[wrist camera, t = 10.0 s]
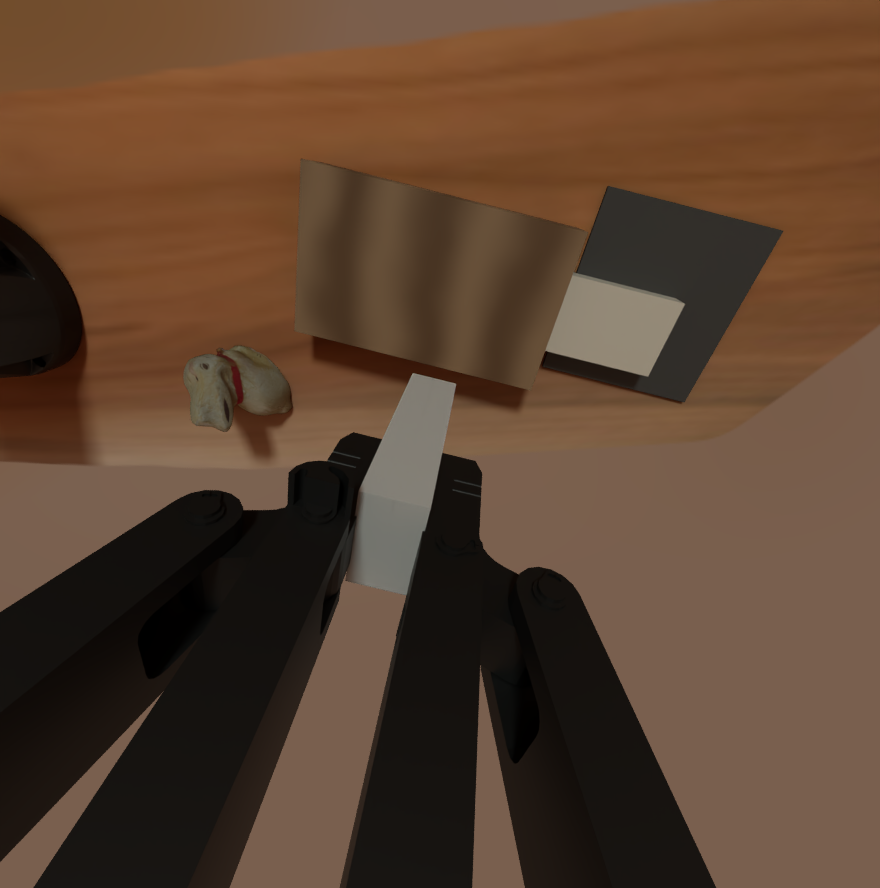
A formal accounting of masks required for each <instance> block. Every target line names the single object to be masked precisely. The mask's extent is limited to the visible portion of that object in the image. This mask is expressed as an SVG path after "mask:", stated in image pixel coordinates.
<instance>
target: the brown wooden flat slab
mask: <svg viewBox="0 0 880 888" xmlns="http://www.w3.org/2000/svg"><path fill="white" fill-rule="evenodd" d="M587 234H588V232H586V231H584V230H582V229H579V228H576V227H572V226H568V225H564V224H560V223H557V222H553V221H549V220H545V219H541V218H537V217H533V216H529V215H525V214H521V213H517V212H514V211H510V210H506V209H502V208H498V207H494V206H490V205H486V204H482V203H478V202H474V201H470V200H467V199H463V198H459V197H455V196H451V195H447V194H443V193H439V192H435V191H431V190H427V189H423V188H420V187H416V186H412V185H408V184H404V183H400V182H396V181H392V180H388V179H384V178H380V177H377V176H373V175H369V174H365V173H361V172H357V171H353V170H349V169H345V168H341V167H337V166H333V165H330V164H326V163H322V162H316V161H310V160H305V159H301V167H300V194H299V222H298V249H297V276H296V304H295V331H296V332H300V333H304V334H308V335H312V336H316V337H320V338H324V339H328V340H332V341H336V342H340V343H344V344H348V345H352V346H356V347H360V348H364V349H368V350H372V351H376V352H380V353H384V354H388V355H392V356H396V357H400V358H404V359H408V360H412V361H416V362H419V363H423V364H427V365H431V366H435V367H439V368H443V369H447V370H451V371H455V372H459V373H463V374H467V375H471V376H475V377H479V378H483V379H487V380H491V381H495V382H499V383H503V384H507V385H511V386H515V387H519V388H523V389H527V390H531V389H532V386H533V383H534V380H535V378H536V375H537V372H538V369H539V367H540V364H541V361H542V358H543V356H544V353H545V350H546V347H547V344H548V342H549V339H550V336H551V333H552V331H553V328H554V325H555V322H556V319H557V317H558V314H559V311H560V308H561V306H562V303H563V300H564V297H565V295H566V292H567V289H568V286H569V283H570V281H571V278H572V275H573V272H574V270H575V267H576V264H577V261H578V258H579V256H580V253H581V250H582V247H583V245H584V242H585V239H586V236H587Z"/></svg>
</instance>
